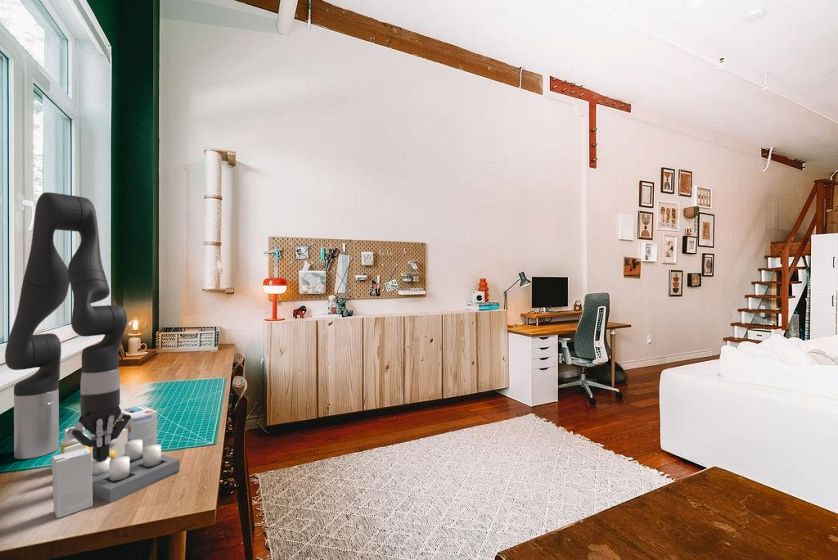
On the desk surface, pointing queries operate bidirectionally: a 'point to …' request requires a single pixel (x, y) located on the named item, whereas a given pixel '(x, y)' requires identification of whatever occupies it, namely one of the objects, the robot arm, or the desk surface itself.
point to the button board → (133, 479)
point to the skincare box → (72, 482)
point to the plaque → (114, 446)
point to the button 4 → (151, 455)
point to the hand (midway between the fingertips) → (100, 460)
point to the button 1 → (100, 467)
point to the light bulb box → (142, 425)
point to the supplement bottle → (68, 440)
